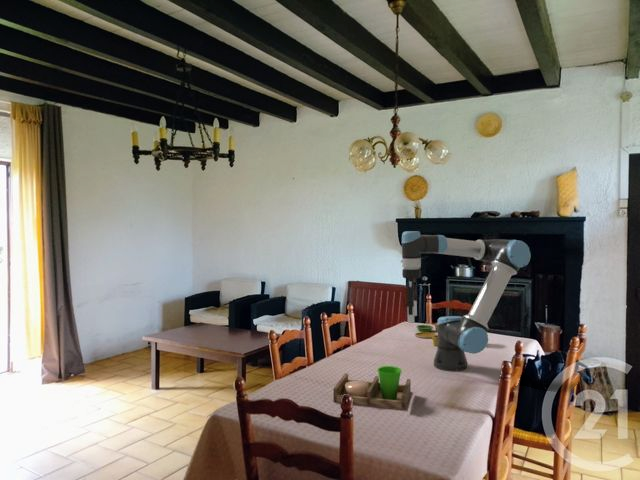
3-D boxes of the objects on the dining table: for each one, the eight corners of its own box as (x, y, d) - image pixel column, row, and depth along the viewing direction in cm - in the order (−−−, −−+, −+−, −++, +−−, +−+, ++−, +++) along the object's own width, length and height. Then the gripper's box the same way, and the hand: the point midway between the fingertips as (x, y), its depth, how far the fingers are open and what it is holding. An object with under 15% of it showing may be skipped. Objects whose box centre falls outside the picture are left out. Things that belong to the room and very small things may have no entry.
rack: (410, 394, 181) (410, 379, 181) (405, 412, 164) (405, 395, 164) (345, 388, 189) (345, 373, 189) (333, 404, 172) (333, 388, 172)
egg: (370, 392, 181) (370, 382, 181) (366, 400, 173) (366, 389, 173) (348, 390, 184) (348, 380, 184) (342, 398, 175) (342, 387, 175)
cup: (401, 404, 169) (400, 374, 169) (375, 402, 171) (375, 372, 171) (402, 395, 178) (402, 366, 177) (378, 393, 180) (378, 365, 179)
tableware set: (469, 349, 248) (469, 337, 248) (416, 347, 253) (416, 335, 252) (459, 331, 289) (459, 321, 288) (413, 330, 293) (413, 320, 293)
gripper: (405, 265, 208) (406, 312, 209) (399, 271, 184) (400, 325, 185) (422, 265, 206) (423, 313, 207) (418, 271, 182) (419, 325, 183)
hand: (412, 319), depth 196 cm, fingers open, 13 cm apart
